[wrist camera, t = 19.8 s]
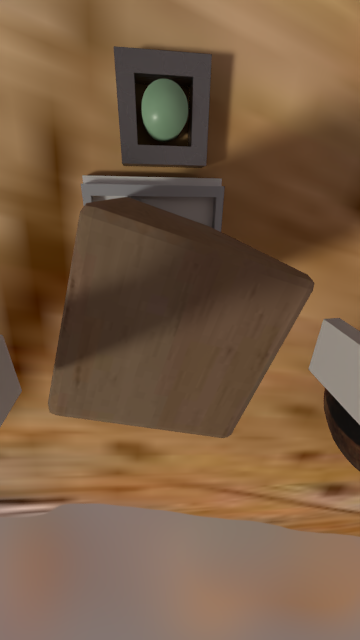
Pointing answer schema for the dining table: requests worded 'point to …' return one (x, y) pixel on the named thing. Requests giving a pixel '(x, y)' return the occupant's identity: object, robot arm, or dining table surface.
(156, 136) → the button
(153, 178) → the shallow gray tray
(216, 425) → the wooden block
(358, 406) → the robot arm
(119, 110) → the button housing
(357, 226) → the dining table surface
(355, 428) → the ceramic vessel
